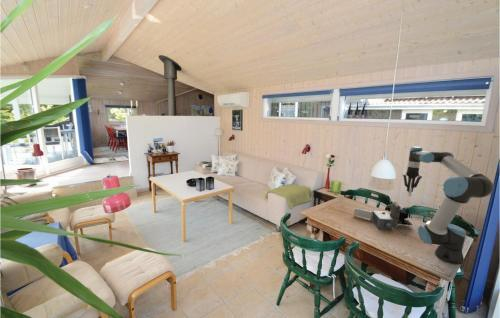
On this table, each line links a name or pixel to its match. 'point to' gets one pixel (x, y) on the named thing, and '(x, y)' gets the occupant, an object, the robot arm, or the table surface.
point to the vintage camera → (399, 215)
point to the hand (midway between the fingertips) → (409, 195)
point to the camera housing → (382, 219)
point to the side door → (363, 213)
